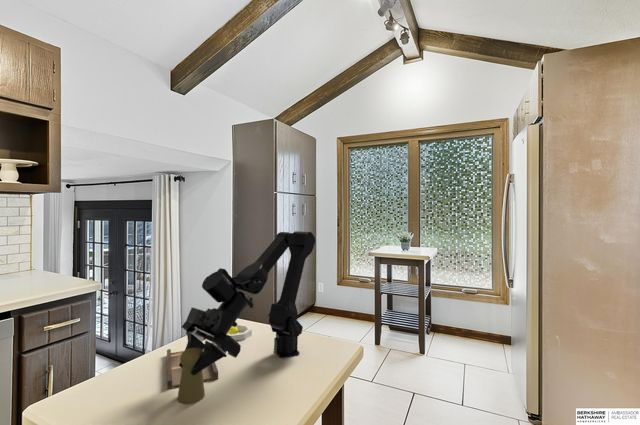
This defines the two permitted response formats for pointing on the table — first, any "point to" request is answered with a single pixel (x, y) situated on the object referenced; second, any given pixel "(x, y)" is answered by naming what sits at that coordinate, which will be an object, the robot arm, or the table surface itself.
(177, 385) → the channel board
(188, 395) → the olive pawn shaped piece
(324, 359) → the table surface
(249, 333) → the white dish rim
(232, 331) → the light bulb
